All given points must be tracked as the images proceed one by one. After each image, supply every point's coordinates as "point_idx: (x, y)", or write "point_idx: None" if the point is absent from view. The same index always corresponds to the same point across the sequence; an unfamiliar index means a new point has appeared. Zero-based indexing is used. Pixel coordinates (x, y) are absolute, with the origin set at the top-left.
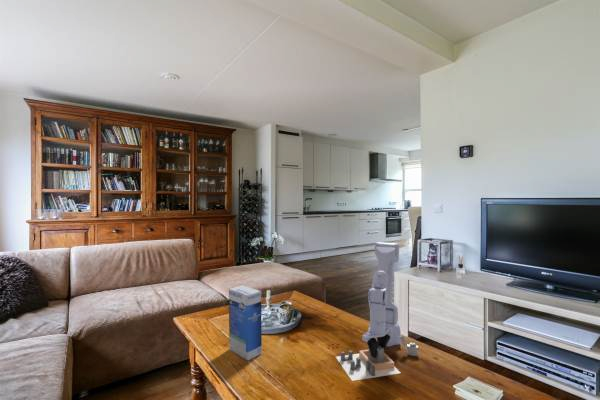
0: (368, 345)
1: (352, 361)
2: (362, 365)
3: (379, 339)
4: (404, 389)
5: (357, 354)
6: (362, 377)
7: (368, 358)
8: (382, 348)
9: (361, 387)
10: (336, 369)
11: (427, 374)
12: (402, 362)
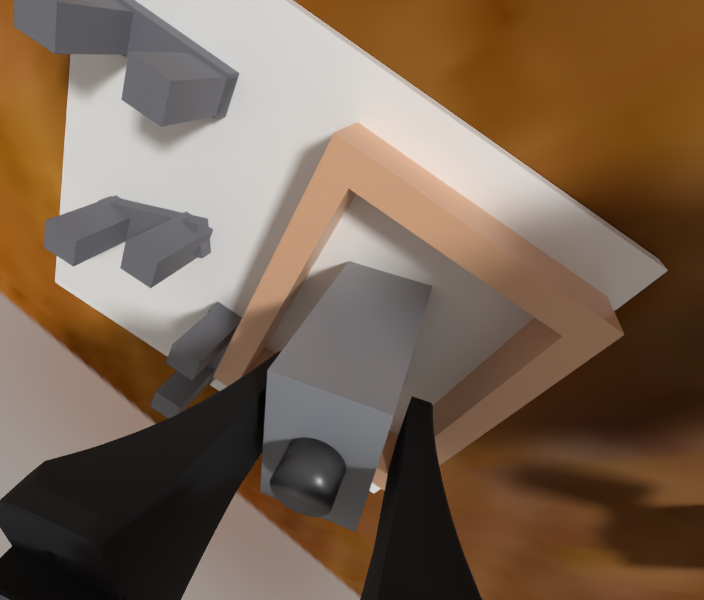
0: (168, 426)
1: (56, 245)
2: (233, 255)
3: (375, 577)
4: (273, 497)
5: (363, 85)
6: (131, 320)
7: (274, 313)
8: (334, 520)
9: (99, 333)
10: (35, 72)
11: (502, 587)
12: (570, 478)
